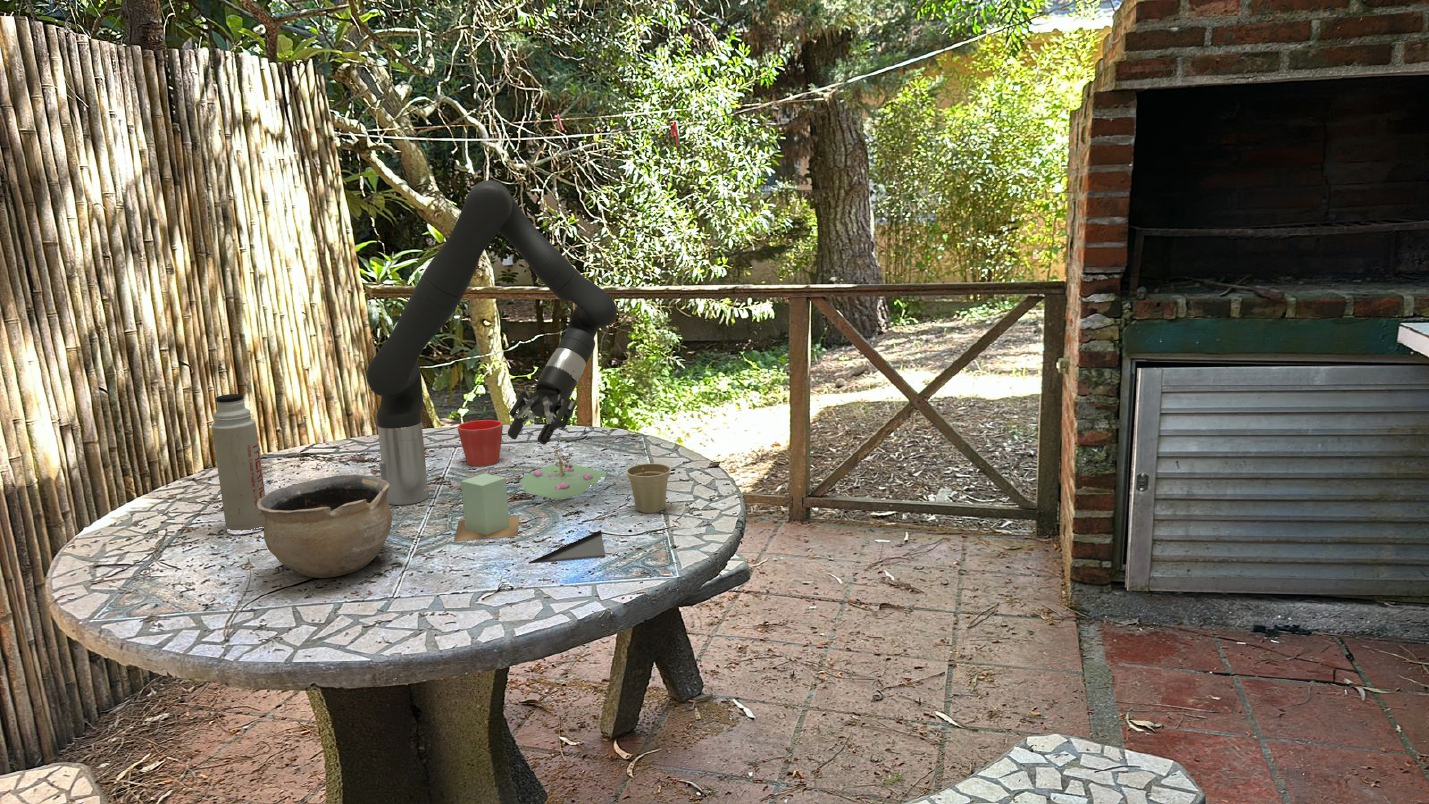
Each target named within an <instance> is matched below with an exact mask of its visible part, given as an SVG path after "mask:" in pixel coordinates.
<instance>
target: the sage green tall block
mask: <svg viewBox="0 0 1429 804" xmlns="http://www.w3.org/2000/svg"><path fill="white" fill-rule="evenodd" d="M460 482H461V492H462V493H461V494H462V504H463V516H464V519H463V520H465V530H468V531H472V532H475V533H479V534H483V535H489V534H491V533H494V532H496V531H499V530H501V529H504V528H506V527H509V514H510V513H509V503H508V501H509V500H508V491H507V490H508V489H507V478H506V477H504V476H500V475H495V474H490V473H481V474H479V475H475V476H472V477H470V478H467V479H463V480H461V481H460Z"/></svg>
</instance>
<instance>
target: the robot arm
mask: <svg viewBox="0 0 1429 804" xmlns="http://www.w3.org/2000/svg"><path fill="white" fill-rule="evenodd" d="M497 233H499V234H500V235H501V236H503V238H504V239H505V240H507V241H508V242H509V243H510V244H511V245H512V246H513V248H514V249H515V250H516V251H517V252H518V253H519V255H520V256H521V258H522V259H524V260H523V261H525V263H526V264H527V265H528V266H529V268H530V269H531V270H532V272H533V273H534V274H535V275H536V277H538V278H539V280H540V281H541V282H542V283H543V285H545V286H546V287H547V288H548V289H549V290H550V291H551V293H553V294H554V295H555V296H556V297H557V298H558V299H559V300H561V301H564V302H565V301H566V302H572V303H573V304H574V305H576V307H575V308H574V309H573V311H572V313H571V316H570V318H569V321H568V325H567V327H566V331H565V333H564V335H563V336H562V339H561V340H560V342H559V344H558V345H557V347H556V349H555V351H554V352H553V353H552V355H551V356H550V357H549V359H548V361H547V363H546V365H545V367H544V368H543V370H542V371H541V374H540V375H539V378H537V381H536V383H535V386H536V387H535V388H536V390H535V392H533V394H528V393H527V392H526V391H525V390H524V391H522V392H521V393H520V395H519V397H518V398H517V400H516V401H515V402H514V404H513V406H512V408H511V409H510V411H509V416H511V417H512V419H513V420H512V423H511V424H510V427H509V429H508V430H507V436H508V437H509V438H510V439H511V440H517V438H518V436H519V435H520V433H521V431H522V429H523V427H524V426H525V425H524V424H526V423H528V422H529V421H531V420H534V419H536V418H537V417H538V418H542V417H543V418H544V419H546V423H544V426H542V428H541V431H540V432H539V435H538V436H537V438H536V439H537V442H539V444H540V445H544V446H546V444H547V443H548V442H549V441H550V439H551V438H552V436H553V434H554V432H555V431H557V430H558V429H559V428H561V429H565V428H566V427H567V425H568V424H569V423H568V422H569V420H570V418H571V417H572V414H573V412H574V410H575V409H576V404H575V402H574V401H573V400H572V399H570V398H571V396H572V394H573V392H574V391H575V388H576V387H577V385H578V383H579V381H580V380H581V377H582V376H583V373H584V371H585V369H586V366H587V364H588V362H589V360H590V359H591V357H592V354H593V352H594V351H595V347H596V341H595V337H596V335H597V333H598V332H599V330H600V329H602V328H604V327H606V326H609V325H611V324H612V323H613V322H614V321H615V320H616V318H617V315H618V308H617V304H616V302H615V301H614V299H613V297H611V295H610V294H609V293H608V292H607V291H605V290H604V289H603V288H601V287H600V286H598V284H596V283H594V282H593V281H591V280H590V279H588V278H587V277H585V276H583V275H582V274H581V272H580V271H578V269H576V268H575V267H574V266H573V264H572V263H571V262H570V261H569V260H568V259H567V258H566V257H565V256H564V255H563V254H562V253H561V252H560V251H559V250H558V249H557V248H556V247H555V246H554V245H553V244H552V243H551V242H550V241H549V240H548V239H547V238H546V237H545V236H544V235H543V233H541V232H540V231H539V230H538V229H537V228H536V226H534V224H533V223H532V221H530V219H529V217H527V216H526V214H525V213H524V212H523V210H522V209H521V207H520V206H519V205H518V203H517V202H516V200H515V199H514V197H513V196H512V194H511V193H510V190H509V189H508V188H507V187H506V186H505V185H504V184H502V183H501V182H498V181H496V180H492V179H491V180H490V179H489V180H487V179H486V180H483V181H479V182H478V183H475V185H474V186H473V187H472V188H471V189H470V190H469V192H468V193H467V196H466V198H465V200H464V204H463V206H462V208H461V211H460V213H459V216H458V218H457V220H456V223H455V225H454V227H453V229H452V231H451V233H450V235H449V237H448V238H447V239H446V241H445V242H444V244H443V245H442V246H441V247H440V248H439V250H438V251H437V253H436V254H435V255H434V256H433V257H432V259H431V261H430V262H429V264H428V265H427V266H426V268H425V270H423V273H422V275H421V276H420V279H419V280H418V281H417V284H416V285H415V287H414V289H413V291H412V292H411V295H410V297H409V298H408V301H407V303H406V304H405V306H404V308H403V310H402V311H401V314H400V317H399V318H398V321H397V323H396V325H395V327H394V329H393V330H392V332H391V333H390V335H389V336H388V338H387V339H386V340H385V342H384V343H383V344H382V346H381V347H380V348H379V350H378V351H377V353H376V354H375V355H374V357H373V358H372V359H371V360H370V362H369V365H368V367H367V369H366V381H367V385H368V387H369V388H370V390H371V391H372V392H373V393H375V394H376V395H378V396H379V397H380V404H379V407H378V410H377V413H376V425H377V435H378V443H379V444H378V445H379V452H380V454H379V455H380V461H379V462H378V463H379V471H380V472H379V473H380V479H382V480H386V481H387V482H388V483H389V484H390V485H389V489H388V493H387V496H386V497H387V500H388V503H389V505H393V506H395V505H397V506H402V505H403V506H405V505H412V504H416V503H420V502H423V501H425V500H426V499H429V486H428V475H427V465H426V455H425V454H426V453H425V444H424V443H425V442H424V435H423V424H422V413H423V405H424V401H423V399H424V397H423V395H424V394H423V381H422V371H421V370H422V369H421V367H420V363H419V361H418V360H419V358H420V356H421V354H422V352H423V350H424V349H425V348H426V346H427V344H429V343H430V341H431V340H432V339H433V338H434V336H435V335H437V333H438V332H439V331H440V330H441V329H442V328H443V327H444V325H445V324H446V323H447V321H449V319H450V318H451V316H452V315H453V313H454V312H455V311H456V309H457V307H458V306H459V304H460V302H461V301H462V299H463V298H464V295H465V294H466V292H467V290H468V288H469V286H470V283H471V281H472V279H473V276H474V273H475V271H476V268H477V266H478V263H479V261H480V259H481V256H482V255H483V253H484V252H485V250H486V249H487V247H488V246H489V244H490V243H491V241H492V240H493V239H494V237H495V236H496V235H497ZM517 411H518V412H517ZM523 416H524V417H523Z"/></svg>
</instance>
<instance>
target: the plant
mask: <svg viewBox="0 0 1429 804" xmlns="http://www.w3.org/2000/svg"><path fill="white" fill-rule="evenodd" d="M558 446H560V443H556V447H553V449H554V451H553V452H554V457H557V458H554V459H551V458H550V457H548V459H547V460H545V461H544V463H545V464H548V463H553V464H550V465H547V466H545V467H543V468H541V469H540V468H539V469H536V470H534V471H532V472H530V473H528V474H527V475H525V476H524V477H522V478H521V479H519V484H520V486H522V485H524V487H522V488H523V491H525V492H526V494H529V495H533V496H539V497H543V498H548V499H552V500H557V501H558V500H559V501H560V500H565V499H568V498H570V499H571V498H574V497H577V496H576V495H578V494H580V495H581V494H583V493H585V492H586V491H585V490H586V489H588V488H589V487H590V485H595V486H597V485H599V484H598V483H597V482H598V480H600V479H601V478H600V477H606V478H607V474H606V472H605V471H602V470H601V471H600V470H599V469H594V468H591V467H588V466H582V465H577V464H571V463H570V460H569V459H568V460H566V459H565V457H564V455H561V454H558V453H561V452H564V450H563V448H562V447H561V448H560V450H558ZM562 459H563V460H562ZM557 460H558V461H557ZM565 460H566V461H565ZM563 461H565V463H564V462H563ZM596 484H597V485H596ZM588 490H589V489H588ZM573 496H574V497H573ZM578 496H579V495H578Z"/></svg>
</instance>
